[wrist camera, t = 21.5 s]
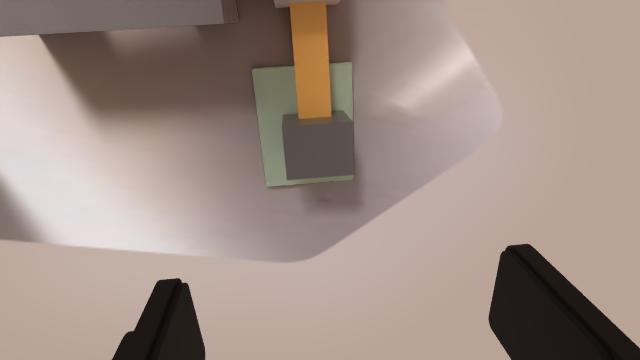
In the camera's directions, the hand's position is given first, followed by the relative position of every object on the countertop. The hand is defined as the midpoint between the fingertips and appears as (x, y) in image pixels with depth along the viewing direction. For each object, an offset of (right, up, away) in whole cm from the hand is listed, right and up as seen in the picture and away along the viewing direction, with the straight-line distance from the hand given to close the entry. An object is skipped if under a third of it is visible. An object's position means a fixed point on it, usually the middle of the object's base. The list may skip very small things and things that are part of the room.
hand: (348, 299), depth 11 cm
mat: (-2, +8, +17) cm, 19 cm away
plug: (-2, +12, +14) cm, 19 cm away
